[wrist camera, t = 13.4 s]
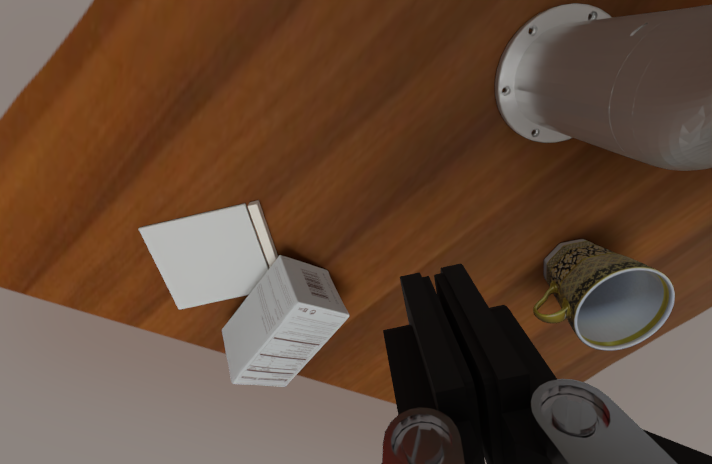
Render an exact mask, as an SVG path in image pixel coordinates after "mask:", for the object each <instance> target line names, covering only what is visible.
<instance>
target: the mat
mask: <svg viewBox="0 0 712 464" xmlns="http://www.w3.org/2000/svg"><path fill="white" fill-rule="evenodd" d="M139 231H140V233H141V235H142V237H143V239H144V241H145V243H146V245H147V247H148V249H149V251H150V253H151V255H152V257H153V259H154V261H155V263H156V265H157V267H158V269H159V271H160V273H161V275H162V277H163V279H164V281H165V283H166V285H167V287H168V289H169V291H170V293H171V295H172V297H173V299H174V301H175V303H176V305H177V307H178V309H179V310H180V309H185V308H189V307H194V306H198V305H203V304H208V303H212V302H217V301H221V300H226V299H231V298H235V297H240V296H244V295H249V294H250V293H251V291H252V290H253V289H254V288H255V286H256V285H257V284H258V282H259V281H260V280H261V279H262V277H263V276H264V275H265V273H266V272H267V271H268V270H269V267H268V264H267V262H266V259H265V256H264V253H263V251H262V248H261V245H260V242H259V240H258V237H257V234H256V231H255V228H254V226H253V223H252V220H251V217H250V215H249V212H248V209H247V206H246V204H245V203H244V204H240V205H236V206H231V207H227V208H222V209H218V210H214V211H209V212H205V213H200V214H196V215H192V216H187V217H183V218H179V219H174V220H170V221H165V222H161V223H157V224H152V225H148V226H143V227H140V228H139Z"/></svg>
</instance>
